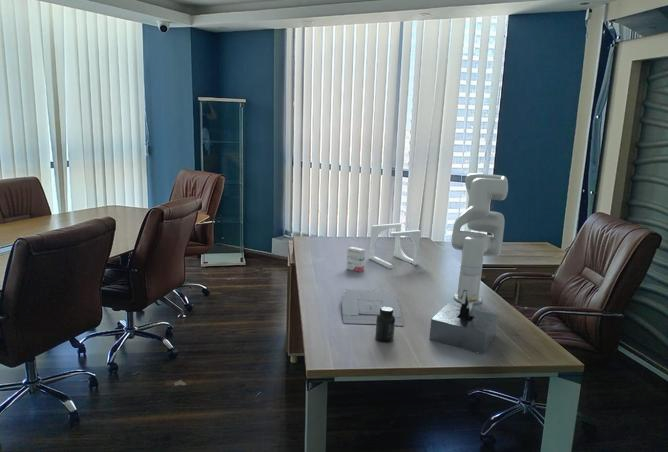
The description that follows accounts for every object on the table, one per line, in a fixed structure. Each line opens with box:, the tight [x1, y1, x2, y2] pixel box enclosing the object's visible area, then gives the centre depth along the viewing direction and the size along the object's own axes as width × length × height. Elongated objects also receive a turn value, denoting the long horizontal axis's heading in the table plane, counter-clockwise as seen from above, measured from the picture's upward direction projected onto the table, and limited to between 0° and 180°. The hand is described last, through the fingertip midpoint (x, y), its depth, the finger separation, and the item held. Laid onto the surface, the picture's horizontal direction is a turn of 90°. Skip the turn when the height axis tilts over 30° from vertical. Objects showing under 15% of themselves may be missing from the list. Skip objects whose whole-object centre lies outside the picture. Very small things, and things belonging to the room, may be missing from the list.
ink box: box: [346, 246, 366, 273], centre depth 265 cm, size 9×5×12 cm, turn 58°
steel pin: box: [460, 295, 476, 320], centre depth 187 cm, size 6×6×10 cm
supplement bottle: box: [374, 306, 396, 343], centre depth 183 cm, size 7×7×12 cm
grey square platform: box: [428, 302, 499, 355], centre depth 189 cm, size 20×20×8 cm
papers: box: [341, 288, 404, 327], centre depth 210 cm, size 24×30×4 cm
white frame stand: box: [368, 222, 422, 269], centre depth 283 cm, size 20×20×20 cm
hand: (465, 315), depth 188 cm, fingers closed on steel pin, 3 cm apart
